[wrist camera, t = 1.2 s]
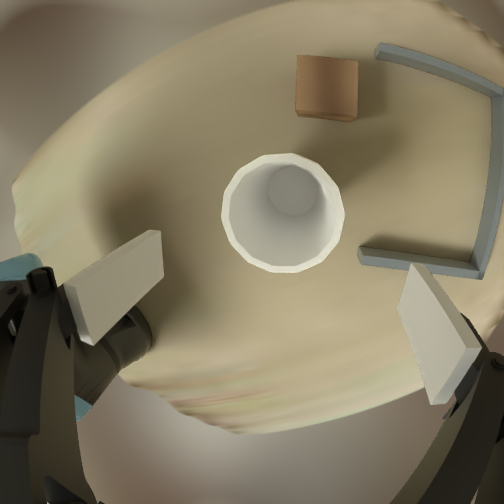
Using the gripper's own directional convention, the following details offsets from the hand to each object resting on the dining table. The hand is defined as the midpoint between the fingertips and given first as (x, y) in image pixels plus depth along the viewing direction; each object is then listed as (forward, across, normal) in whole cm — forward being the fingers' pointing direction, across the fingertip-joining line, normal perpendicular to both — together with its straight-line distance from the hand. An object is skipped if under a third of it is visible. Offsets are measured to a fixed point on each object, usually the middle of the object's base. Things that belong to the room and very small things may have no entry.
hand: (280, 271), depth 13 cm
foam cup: (+21, -1, +1) cm, 21 cm away
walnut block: (+21, +2, +13) cm, 25 cm away
